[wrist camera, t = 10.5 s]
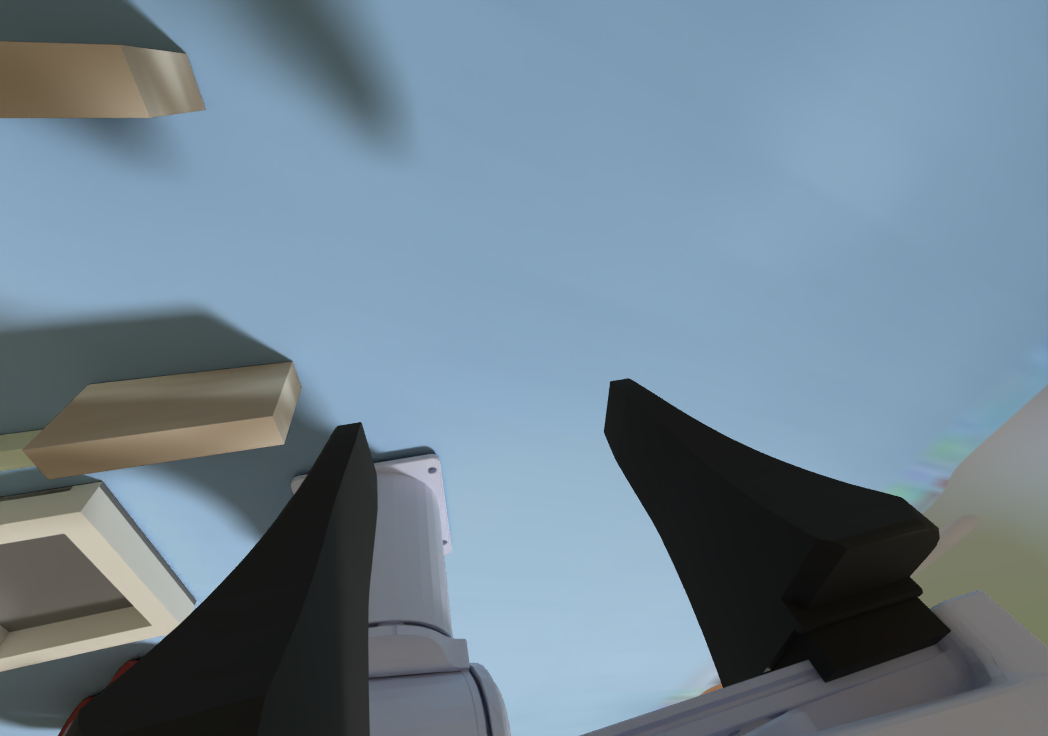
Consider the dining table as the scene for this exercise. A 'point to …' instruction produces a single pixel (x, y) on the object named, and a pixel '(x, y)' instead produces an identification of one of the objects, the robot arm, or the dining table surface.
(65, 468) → the channel walls
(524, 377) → the dining table surface
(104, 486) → the trap basin
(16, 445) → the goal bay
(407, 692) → the robot arm
